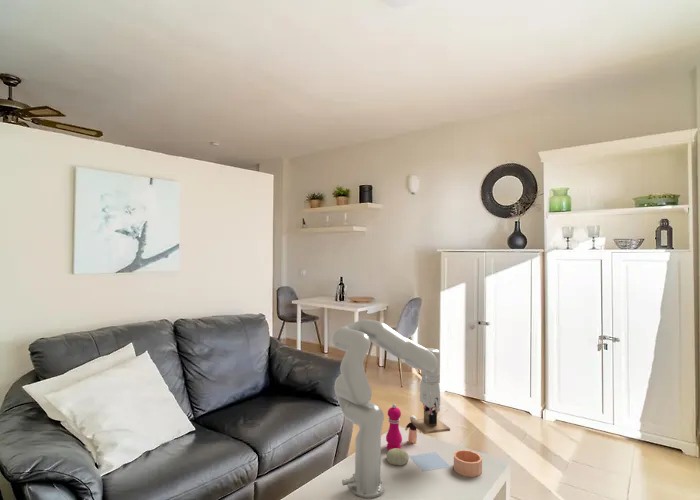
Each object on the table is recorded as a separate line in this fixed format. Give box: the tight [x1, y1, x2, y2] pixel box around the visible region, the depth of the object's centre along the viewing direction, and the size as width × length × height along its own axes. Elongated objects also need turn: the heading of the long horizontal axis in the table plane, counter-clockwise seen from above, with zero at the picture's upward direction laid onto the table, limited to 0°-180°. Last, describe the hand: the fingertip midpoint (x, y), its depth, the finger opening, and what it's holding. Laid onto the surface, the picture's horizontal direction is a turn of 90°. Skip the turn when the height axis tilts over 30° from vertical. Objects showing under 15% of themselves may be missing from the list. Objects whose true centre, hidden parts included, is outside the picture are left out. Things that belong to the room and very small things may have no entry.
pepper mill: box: [385, 403, 403, 451], centre depth 181 cm, size 7×7×20 cm
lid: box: [410, 409, 451, 435], centre depth 170 cm, size 12×12×6 cm
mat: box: [408, 451, 452, 472], centre depth 169 cm, size 13×13×1 cm
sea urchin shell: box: [386, 448, 410, 466], centre depth 170 cm, size 9×8×8 cm
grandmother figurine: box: [404, 415, 422, 445], centre depth 187 cm, size 8×4×13 cm, turn 81°
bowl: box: [453, 449, 483, 478], centre depth 163 cm, size 11×11×6 cm
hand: (430, 421), depth 170 cm, fingers closed on lid, 4 cm apart
